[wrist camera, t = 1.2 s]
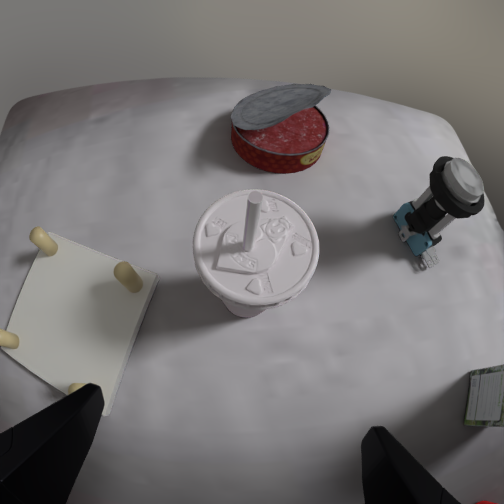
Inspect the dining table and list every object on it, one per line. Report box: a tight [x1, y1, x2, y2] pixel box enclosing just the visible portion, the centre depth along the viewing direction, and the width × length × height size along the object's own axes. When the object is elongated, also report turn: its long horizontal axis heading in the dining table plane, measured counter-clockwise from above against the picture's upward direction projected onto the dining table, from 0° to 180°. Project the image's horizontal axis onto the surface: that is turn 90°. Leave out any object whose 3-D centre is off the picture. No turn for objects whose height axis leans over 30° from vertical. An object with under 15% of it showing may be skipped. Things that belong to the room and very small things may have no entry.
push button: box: [393, 156, 484, 268], centre depth 22 cm, size 7×5×10 cm
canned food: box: [230, 84, 331, 174], centre depth 28 cm, size 11×10×10 cm
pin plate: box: [0, 227, 159, 416], centre depth 20 cm, size 12×12×4 cm
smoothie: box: [193, 189, 319, 318], centre depth 17 cm, size 6×6×14 cm
